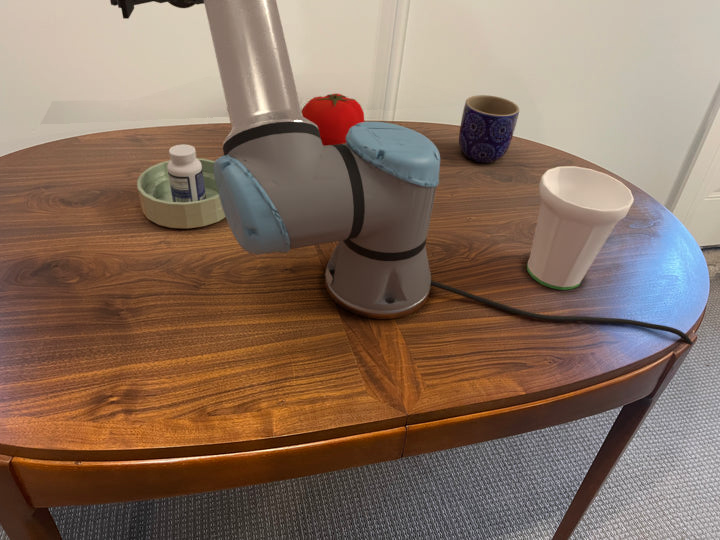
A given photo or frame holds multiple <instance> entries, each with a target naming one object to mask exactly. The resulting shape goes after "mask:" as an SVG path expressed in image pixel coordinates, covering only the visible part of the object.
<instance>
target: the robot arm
mask: <svg viewBox="0 0 720 540" xmlns="http://www.w3.org/2000/svg"><path fill="white" fill-rule="evenodd" d="M109 1H110V2H109V3H110V5H111V6H113V7H115V6H116V7H118V9H121V14H122V19H125V20H126V19H127V20H128V19H129V18H130V17H131V15H132V13H133V12H134V9H135V6H139V5H143V4H148V3H152V2H154V3H157V4H163V3H169V4H170V5H171V6H173V7H175V8H178V9H189V8H192V7H195V5H204V9H205V12H206V13H205V14H206V18H207V22H208V26H209V27H208V28H209V31H210V36H211V40H212V46H213V49H214V54H215V59H216V64H217V68H218V72H219V77H220V81H221V87H222V91H223V94H224V95H223V96H224V100H225V104H226V109H227V114H228V119H229V123H230V127H231V131H230V132H229V133H228V134H227V136H226V137H225V139H224V140H223V142H222V152H223V155H221V156H220V157H218V158H216V159H215V160H214V161H215V163H214V176H215V181H216V184H217V188H218V190H219V191H218V194H219V198H220V202H221V205H222V208H223V211H224V214H225V219H226V221H227V224H228V227H229V229H230V231H231V233H232V235H233V237H234V239H235V240H236V242H237V243H238V245H239V246H240V247H241V248H242V249H243V250H244V251H245V252H247V253H248V254H251V255H256V256H257V255H266V254H267V255H268V254H274V253H281V254H286V253H288V252H289V251H291V250H297V249H302V248H303V249H304V248H309V247H313V246H319V245H324V244H331V243H336V245H335V247H334V249H333V251H332V253H331V255H330V258H329V259H328V262H327V265H326V269H325V273H324V275H325V283H324V284H325V287H326V291H327V293H328V295H329V296H330V298H331V299H332V300H333V301H334V302H335V303H336V304H337V305H338V306H340V307H341V308H342V309H344V310H346V311H347V312H350V313H351V314H354V315H357V316H360V317H364V318H367V319H375V320H391V319H392V320H393V319H399V318H404V317H406V316H409V315H411V314H413V313H415V312H417V311H418V310H420V309H421V308H422V307H423V306H424V305H425V304H426V302H427V301H428V299H429V296H430V293H431V289H432V288H431V287H434V288H437V289H440V290H443V291H447V292H450V293H452V294H455V295H458V296H461V297H464V298H467V299H470V300H472V301H475V302H478V303H481V304H484V305H487V306H490V307H493V308H496V309H499V310H501V311H504V312H508V313H511V314H514V315H518V316H522V317H526V318H531V319H535V320H540V321H551V322H581V323H582V322H585V323H597V324H598V323H599V324H617V325H626V326H627V325H628V326H635V327H641V328H646V329H650V330H651V329H652V330H656V331H662V332H667V333H671V334H673V335H677V336H678V337H680V338H681V339H682V340H683V341H684V342H685V343H686V344H687V345H693V344H694V343H693V340H692V339H691V338H690V337H689V336H688V335H687V333H685V332H683V331H682V330H680V329H678V328H676V327H675V328H674V327H671V326H668V325H662V324H657V323H656V324H655V323H650V322H645V321H639V320H634V319H627V318H618V317H617V318H616V317H615V318H614V317H598V316H597V317H595V316H583V315H582V316H581V315H580V316H579V315H548V314H541V313H535V312H530V311H526V310H521V309H518V308H514V307H511V306H508V305H505V304H502V303H499V302H496V301H493V300H490V299H488V298H485V297H481V296H479V295H476V294H472V293H470V292H467V291H464V290H461V289H459V288H456V287H452V286H450V285H446V284H444V283H441V282H437V281H435V280H432V273H431V269H430V262H429V258H428V252H427V248H426V244H427V238H428V234H429V230H430V229H429V228H430V223H431V217H432V213H433V207H434V202H435V197H436V193H437V186H439V183H440V167H441V155H440V151H439V149H438V148H437V147H438V146H436V144H434V142H433V141H432V140H431V139H429V138H428V137H427V136H425V135H424V134H422V133H420V132H418V131H416V130H413V129H411V128H408V127H405V126H402V125H399V124H395V123H391V122H385V121H384V122H383V121H364V122H362V123H358V124H356V125H355V126H352V127H351V128H350V129H349V131H348V134H347V135H346V143H344V144H336V145H325V146H324V145H323V144H322V141H321V137H320V132H319V128H318V126H317V125H316V124H315V123H313V122H311V121H309V120H308V119H306V118H304V117H303V115H302V106H301V103H300V99H299V94H298V90H297V85H296V80H295V76H294V73H293V66H292V63H291V59H290V54H289V51H288V46H287V41H286V37H285V33H284V29H283V25H282V20H281V17H280V15H281V14H280V12H279V7H278V3H277V2H278V1H277V0H109Z"/></svg>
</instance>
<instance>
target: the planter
mask: <svg viewBox="0 0 720 540" xmlns="http://www.w3.org/2000/svg"><path fill="white" fill-rule="evenodd" d="M519 114H520V107H519V106H518V105H517V104H516V103H515V102H514V101H511V100H509V99H507V98H504V97H500V96H495V95H487V94H483V95H482V94H480V95H472V96H470V97H468V98H466V100H465V103H464V105H463V110H462V116H461V120H460V121H461V122H460V126H459V134H458V145H459V149H460V151H461V153H462V154H463V156H465V157H466V158H467V159H469V160H471V161H473V162H476V163H482V164H488V163H495V162H497V161H499V160H500V159H502V158H503V157H504V156H505V155H506V153H507V152H508V150H509V148H510V146H511V143H512V140H513V136H514V133H515V130H516V126H517V123H518V120H519V119H518V118H519Z"/></svg>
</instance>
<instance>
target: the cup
mask: <svg viewBox="0 0 720 540" xmlns="http://www.w3.org/2000/svg"><path fill="white" fill-rule="evenodd" d="M538 191H539V197H540V200H541V201H540V206H539V210H538V215H537V216H538V217H537V221H536V225H535V231H534V235H533V241H532V244H531V249H530V254H529V258H528V260H527V264H526V270H527V273H528V274H529V275H530V276H531V278H532V279H534V281H536V282H537V283H539V284H540V285H542V286H545V287H547V288H550V289H554V290H558V291H559V290H560V291H567V290H573V289H576V288H578V287H580V285H581V284H582V283H581V282H582V281H583V279H584V277H585V276H586V274H587V272H588V271H589V269H590V268H591V267H592V264H593V263H594V261H595V260H596V259H597V256H598V255H599V253H600V252H601V250H602V248H603V246H604V244H605V243H606V241H607V240H608V238H609V236H610V235H611V233H612V232H613V230H614V228H615V227H616V225H617V223H618V222H619V221H622V220H623V219H624V218H626V217H627V215H628V213H629V211H630V209H631V206H632V205H633V203H634V201H635V199H634V196H633V194H632V190H631V189H630V188H628V187H627V186H626V185H625V184H624V183H623V182H622V181H621V180H618V179H616V178H615V177H612V176H611V175H609V174H607V173H605V172H601V171H598V170H595V169H591V168H588V167H587V168H586V167H580V166H576V165H569V166H567V165H566V166H556V167H553V168H550V169H547V170H546V171H545V172H544V173H543V174H542V176H541V178H540V182H539V184H538Z"/></svg>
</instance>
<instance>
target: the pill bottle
mask: <svg viewBox="0 0 720 540" xmlns="http://www.w3.org/2000/svg"><path fill="white" fill-rule="evenodd" d="M168 153H169V154H168V155H169V160H171V161H170V162H169V163H168V165H167V170H168V176H169V182H170V187H171V193H172V199H173V202H193V201H200V200H203V199H206V193H205V186H204V178H203V170H202V164H201V162H200V161H199V160H198V159H196V158H197V151H196V148H195V146H193V145H191V144H184V143H183V144H182V143H181V144H176V145H173V146H172V147H170V148H169V150H168Z"/></svg>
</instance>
